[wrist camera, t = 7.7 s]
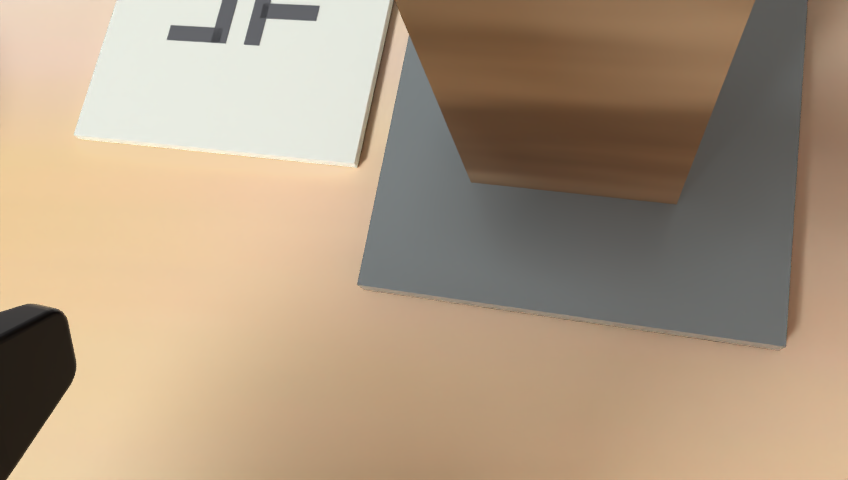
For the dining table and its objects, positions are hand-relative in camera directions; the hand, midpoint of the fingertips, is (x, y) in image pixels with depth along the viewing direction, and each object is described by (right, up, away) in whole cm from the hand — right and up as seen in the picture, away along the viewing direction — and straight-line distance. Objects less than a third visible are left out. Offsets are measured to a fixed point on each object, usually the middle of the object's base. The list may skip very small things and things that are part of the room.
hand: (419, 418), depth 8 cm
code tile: (-5, +9, +14) cm, 17 cm away
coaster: (+4, +5, +11) cm, 13 cm away
